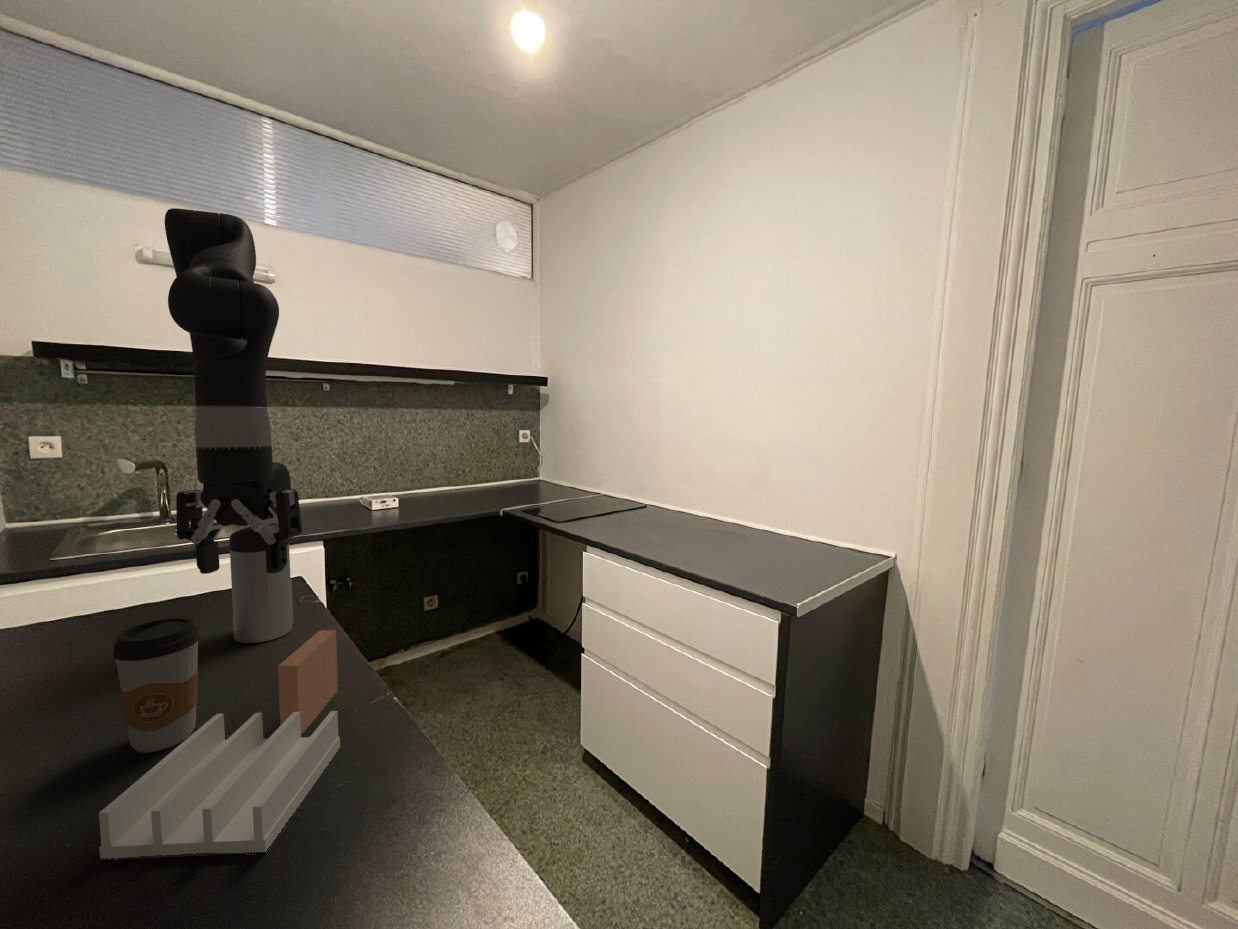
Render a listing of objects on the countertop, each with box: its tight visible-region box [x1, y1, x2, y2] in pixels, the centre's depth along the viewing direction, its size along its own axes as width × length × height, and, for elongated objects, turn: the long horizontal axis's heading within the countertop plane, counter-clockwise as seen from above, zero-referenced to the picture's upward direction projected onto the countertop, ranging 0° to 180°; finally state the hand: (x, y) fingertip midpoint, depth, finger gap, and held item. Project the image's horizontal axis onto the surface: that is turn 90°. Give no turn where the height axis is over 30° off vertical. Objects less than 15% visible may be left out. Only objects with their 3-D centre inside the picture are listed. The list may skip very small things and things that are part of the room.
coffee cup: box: [112, 616, 201, 753], centre depth 66 cm, size 8×8×15 cm
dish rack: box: [98, 710, 341, 859], centre depth 57 cm, size 16×15×5 cm
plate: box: [277, 629, 339, 735], centre depth 73 cm, size 11×2×10 cm, turn 5°
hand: (242, 572), depth 64 cm, fingers open, 8 cm apart
